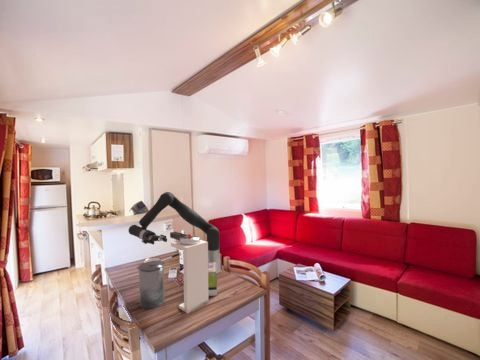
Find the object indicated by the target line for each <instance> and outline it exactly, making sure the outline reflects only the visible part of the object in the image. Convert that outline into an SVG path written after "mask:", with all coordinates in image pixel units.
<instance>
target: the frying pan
mask: <svg viewBox="0 0 480 360" xmlns="http://www.w3.org/2000/svg"><path fill="white" fill-rule="evenodd" d="M179 256H180V255H179V253H176V254H174V255H171V256H169V257H166V258H164V259H161V258H160V257H157V256H156V257H155V256H154V257H153V256H152V257H148V258H145V259H144V260H143V262H142V264H143V263H145V262H149V261H162V262H164V261H167V260H169V259H173V258H175V257H179Z"/></svg>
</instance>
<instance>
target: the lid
mask: <svg viewBox="0 0 480 360" xmlns="http://www.w3.org/2000/svg"><path fill="white" fill-rule="evenodd" d="M169 238H170V239H174V240H176V241H180V244H181V245H195V244H198V243H200V240H201V236H199V235H195V234H194V235H193V234H192V233H188V234H185V233H182V232H178V231H172V232H170V233H169Z"/></svg>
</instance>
